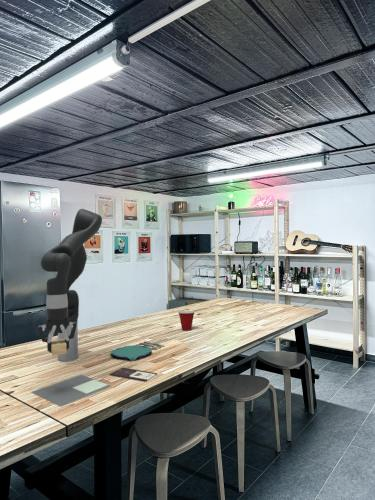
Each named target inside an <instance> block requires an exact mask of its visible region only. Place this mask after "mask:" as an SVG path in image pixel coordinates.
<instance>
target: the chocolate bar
mask: <svg viewBox="0 0 375 500" xmlns="http://www.w3.org/2000/svg"><path fill="white" fill-rule="evenodd" d="M157 375H158V372H154V371H153V372H152V371H147V370H140V369H134V368H127V367H120V368H118V369H116V370H114V371H113V372H111V373H110V374H109V376H111V377H116V378H121V379H127V380H133V381H136V382H137V381H139V382H144V383H147V382H148V381H150V380H151V379H152V378H154V377H156V376H157Z"/></svg>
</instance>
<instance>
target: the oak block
mask: <svg viewBox="0 0 375 500" xmlns="http://www.w3.org/2000/svg"><path fill="white" fill-rule="evenodd" d="M51 343H52V344H51V353H50V354H51V356H58V355H60V354H67V351H66V342H65V340H64V339H60V340H57V339H52V340H51Z"/></svg>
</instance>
